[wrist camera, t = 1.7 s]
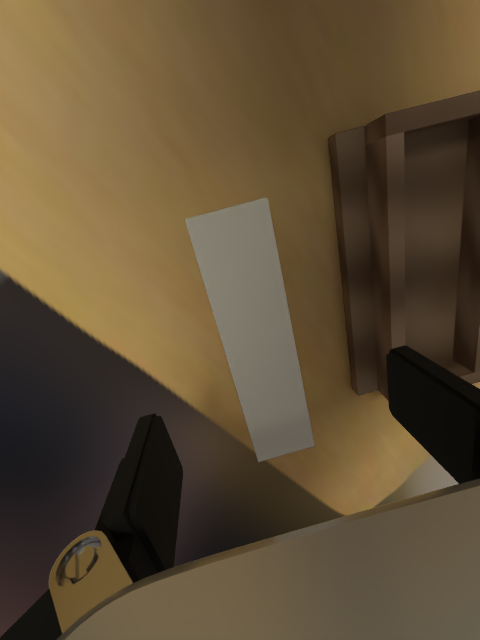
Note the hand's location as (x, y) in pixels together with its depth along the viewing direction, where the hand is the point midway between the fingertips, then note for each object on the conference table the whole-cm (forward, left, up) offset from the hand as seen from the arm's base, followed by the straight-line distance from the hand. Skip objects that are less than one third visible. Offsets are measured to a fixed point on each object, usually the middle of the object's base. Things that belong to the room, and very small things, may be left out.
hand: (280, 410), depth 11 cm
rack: (-1, +13, -10) cm, 17 cm away
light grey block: (-1, 0, -10) cm, 10 cm away
